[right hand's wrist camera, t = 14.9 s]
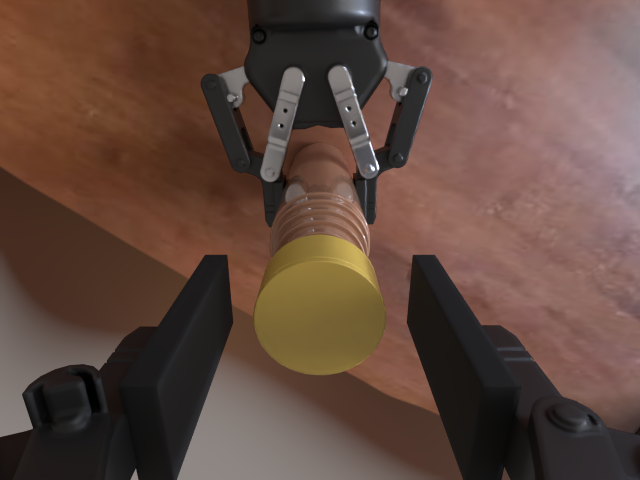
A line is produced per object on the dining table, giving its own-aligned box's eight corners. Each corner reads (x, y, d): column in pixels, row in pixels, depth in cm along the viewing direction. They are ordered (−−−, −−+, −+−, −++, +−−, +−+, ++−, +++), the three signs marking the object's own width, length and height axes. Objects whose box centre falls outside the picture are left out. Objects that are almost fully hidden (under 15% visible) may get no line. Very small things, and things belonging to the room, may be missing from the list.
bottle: (358, 181, 34) (416, 334, 13) (310, 208, 35) (296, 392, 14) (330, 131, 32) (347, 218, 12) (280, 161, 33) (217, 290, 13)
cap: (306, 211, 14) (303, 234, 12) (399, 276, 15) (413, 308, 12) (241, 298, 15) (228, 333, 13) (331, 353, 16) (332, 395, 14)
